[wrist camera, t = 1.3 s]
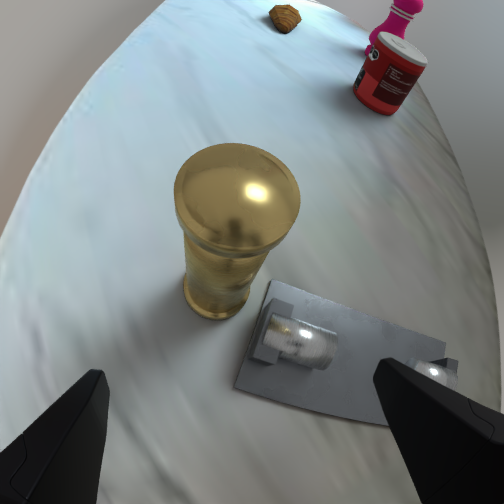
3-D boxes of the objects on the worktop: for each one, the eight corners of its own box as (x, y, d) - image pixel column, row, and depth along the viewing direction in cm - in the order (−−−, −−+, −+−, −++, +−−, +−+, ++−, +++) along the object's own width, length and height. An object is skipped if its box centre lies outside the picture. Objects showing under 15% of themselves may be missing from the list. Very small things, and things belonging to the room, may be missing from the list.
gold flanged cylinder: (226, 332, 22) (262, 273, 10) (171, 296, 22) (147, 201, 11) (259, 280, 24) (318, 181, 12) (206, 247, 25) (221, 127, 13)
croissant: (268, 11, 50) (272, -7, 45) (298, 18, 51) (303, 0, 46) (264, 31, 44) (269, 9, 40) (300, 39, 45) (307, 18, 40)
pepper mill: (363, 46, 49) (396, -25, 31) (393, 61, 49) (430, -7, 31) (361, 56, 46) (398, -23, 28) (393, 73, 46) (436, -3, 28)
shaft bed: (443, 343, 25) (466, 336, 22) (427, 430, 21) (450, 432, 18) (271, 280, 24) (282, 264, 21) (233, 387, 20) (239, 388, 17)
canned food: (367, 81, 42) (393, 31, 32) (403, 111, 40) (435, 62, 30) (341, 87, 39) (368, 30, 29) (381, 121, 37) (417, 64, 27)
